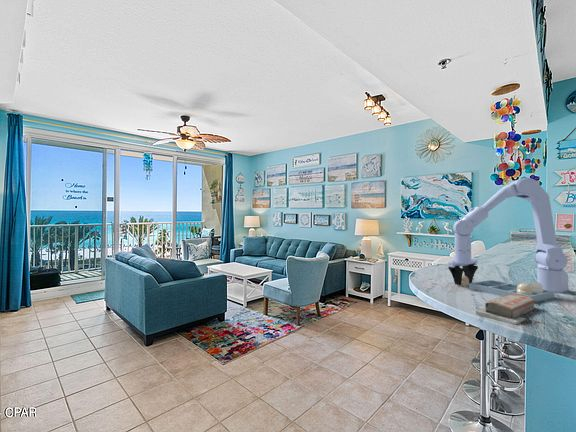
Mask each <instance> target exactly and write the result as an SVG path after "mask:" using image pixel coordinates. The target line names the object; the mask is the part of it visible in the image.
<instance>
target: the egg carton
mask: <svg viewBox="0 0 576 432" xmlns="http://www.w3.org/2000/svg"><path fill="white" fill-rule="evenodd" d="M518 285H519V284H516V283H510V282H505V281H504V282H503V281H500V280H495V279H494V280H493V279H491V280H490V279H489V280H482V281H475V282H472V283H469V286H468V287H469V289H470V290H473V291H478V292H483V293H487V294H491V295H494V296H499V297H503V296H506V295H509V294H516V295H521V296H526V297H530V298H532V299H534V300H535V302H534V303H537V302H542V301H545V300H547V301H548V300H550V299H554V298H555V292H553V291H548V290H543V293H537V292H532V295H530V296H529V295H524V294H520V293H517V286H518Z"/></svg>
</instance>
